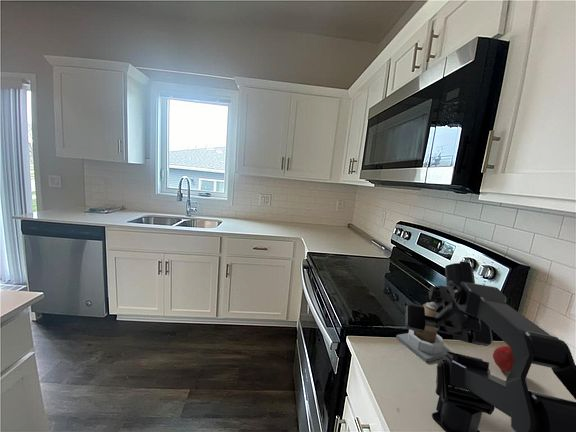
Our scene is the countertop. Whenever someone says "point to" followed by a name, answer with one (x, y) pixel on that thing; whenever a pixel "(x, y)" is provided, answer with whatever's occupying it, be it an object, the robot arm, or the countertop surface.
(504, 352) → the onion
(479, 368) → the robot arm
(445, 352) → the dock
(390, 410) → the countertop surface
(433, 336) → the mill
